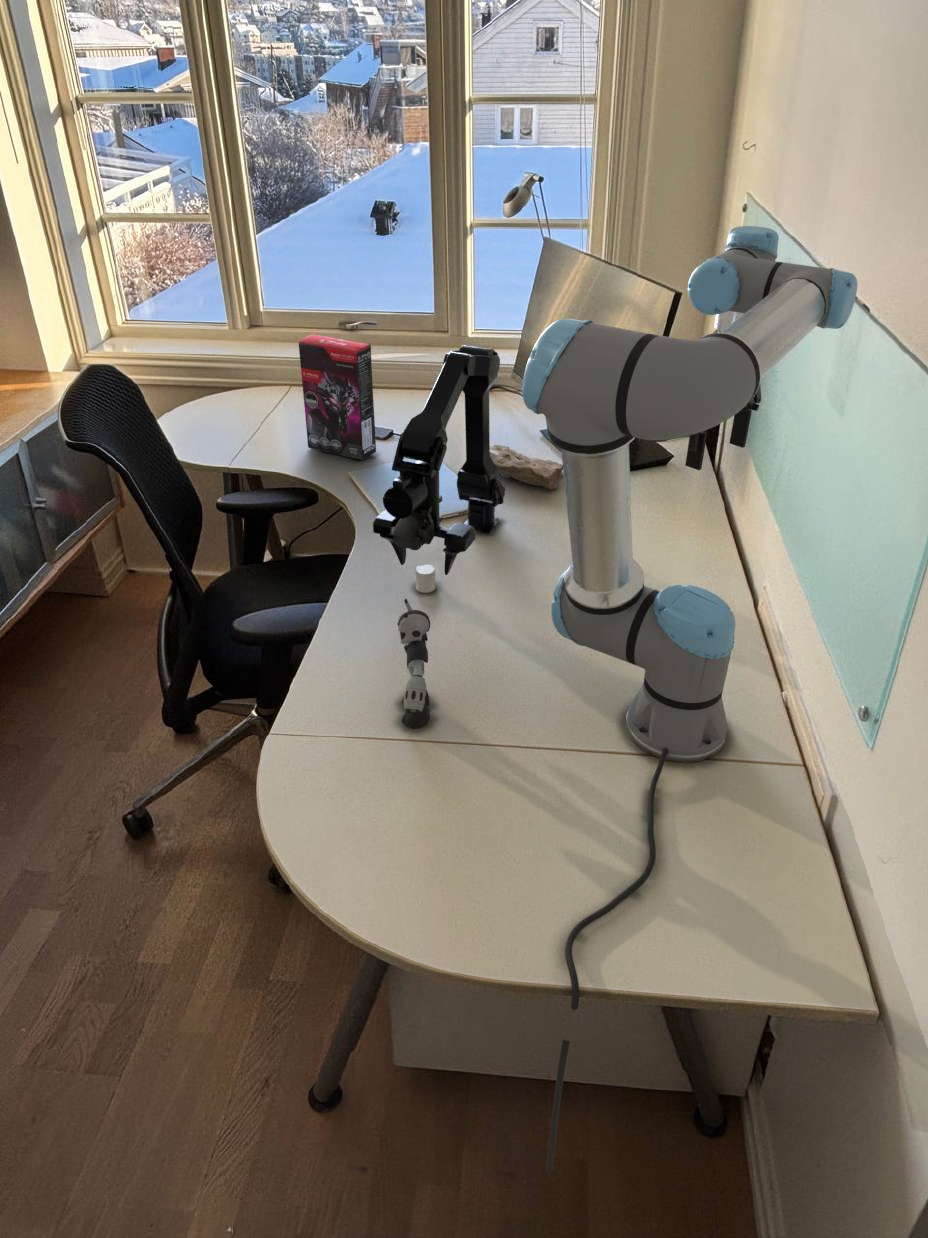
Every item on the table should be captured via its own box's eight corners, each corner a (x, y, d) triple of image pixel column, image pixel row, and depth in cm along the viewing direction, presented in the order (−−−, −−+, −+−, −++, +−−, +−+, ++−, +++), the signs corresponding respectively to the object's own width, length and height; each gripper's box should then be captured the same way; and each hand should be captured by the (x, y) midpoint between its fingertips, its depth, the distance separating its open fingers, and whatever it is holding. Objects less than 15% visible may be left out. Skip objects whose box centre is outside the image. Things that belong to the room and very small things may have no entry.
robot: (432, 752, 138) (431, 644, 127) (400, 753, 138) (395, 645, 127) (430, 673, 154) (428, 571, 143) (401, 674, 154) (397, 571, 143)
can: (437, 584, 178) (437, 565, 176) (431, 594, 175) (431, 575, 173) (419, 581, 179) (419, 563, 177) (413, 591, 176) (413, 572, 174)
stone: (462, 471, 213) (468, 446, 211) (478, 460, 226) (484, 436, 224) (548, 498, 210) (555, 473, 207) (560, 485, 223) (567, 461, 221)
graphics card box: (305, 448, 231) (295, 340, 216) (321, 439, 236) (312, 332, 221) (363, 462, 225) (356, 351, 209) (378, 452, 230) (373, 343, 215)
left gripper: (356, 503, 163) (361, 578, 172) (452, 523, 157) (452, 600, 166) (385, 478, 172) (388, 551, 180) (477, 497, 165) (476, 571, 174)
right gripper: (757, 312, 156) (736, 430, 168) (671, 343, 142) (654, 470, 153) (798, 321, 152) (772, 442, 164) (713, 354, 137) (692, 484, 149)
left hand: (424, 569), depth 175 cm, fingers open, 9 cm apart
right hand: (715, 456), depth 158 cm, fingers open, 13 cm apart
